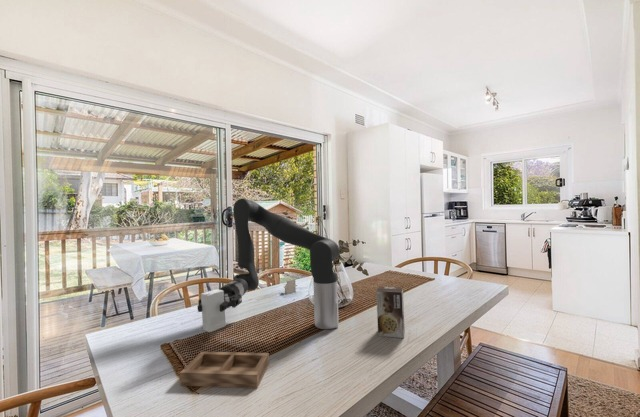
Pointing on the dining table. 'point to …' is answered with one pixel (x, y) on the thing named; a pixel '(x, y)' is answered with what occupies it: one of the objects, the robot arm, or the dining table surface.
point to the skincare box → (212, 310)
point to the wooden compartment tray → (225, 370)
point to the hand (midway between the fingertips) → (210, 308)
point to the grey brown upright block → (390, 312)
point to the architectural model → (290, 286)
